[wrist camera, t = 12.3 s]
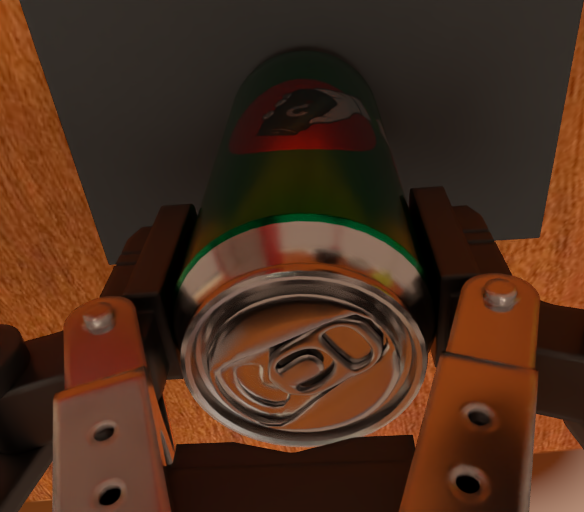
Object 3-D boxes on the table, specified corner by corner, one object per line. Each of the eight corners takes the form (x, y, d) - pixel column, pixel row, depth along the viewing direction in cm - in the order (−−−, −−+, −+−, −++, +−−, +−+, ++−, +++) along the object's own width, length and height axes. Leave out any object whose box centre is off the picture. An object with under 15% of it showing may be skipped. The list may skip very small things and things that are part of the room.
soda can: (202, 108, 19) (95, 352, 10) (318, 11, 18) (333, 188, 8) (293, 208, 22) (282, 491, 12) (404, 131, 20) (504, 389, 10)
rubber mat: (112, 257, 24) (108, 265, 24) (9, -54, 18) (1, -52, 17) (535, 230, 23) (539, 238, 23) (597, -116, 16) (606, -116, 16)
